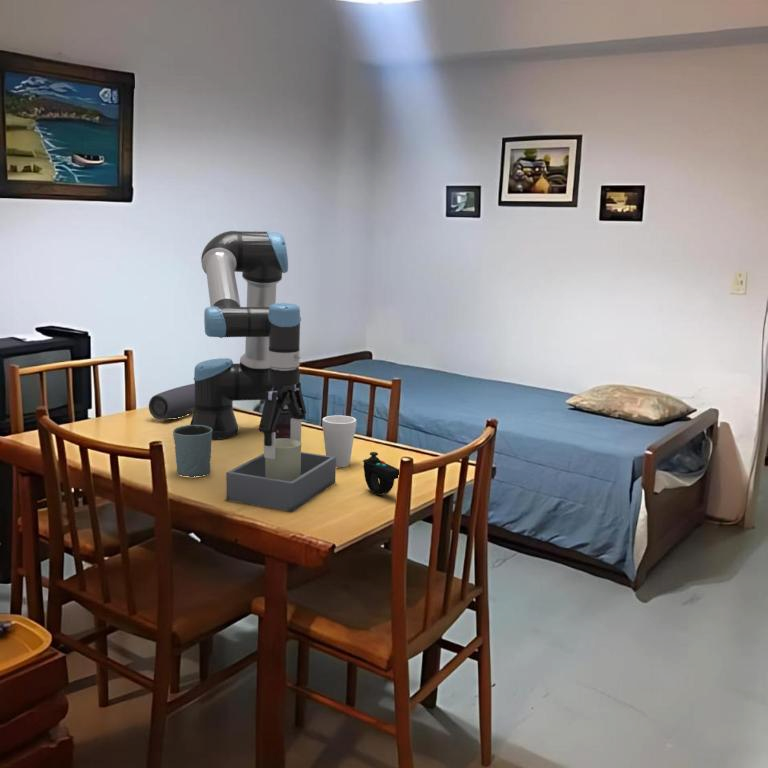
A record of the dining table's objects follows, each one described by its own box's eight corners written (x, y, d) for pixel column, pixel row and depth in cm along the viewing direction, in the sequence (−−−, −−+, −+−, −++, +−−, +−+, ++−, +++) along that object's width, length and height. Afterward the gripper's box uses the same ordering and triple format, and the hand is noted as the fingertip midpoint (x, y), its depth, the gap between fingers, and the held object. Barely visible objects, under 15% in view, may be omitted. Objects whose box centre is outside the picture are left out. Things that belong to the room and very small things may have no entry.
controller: (373, 486, 213) (374, 449, 211) (402, 499, 203) (403, 461, 201) (359, 488, 211) (360, 451, 208) (388, 503, 201) (389, 464, 199)
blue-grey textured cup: (212, 466, 224) (212, 424, 222) (213, 478, 215) (212, 434, 212) (174, 468, 222) (173, 425, 220) (173, 479, 213) (172, 435, 210)
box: (274, 472, 221) (274, 447, 220) (335, 482, 215) (335, 456, 213) (226, 500, 199) (226, 472, 198) (292, 511, 193) (292, 483, 191)
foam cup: (322, 469, 225) (323, 423, 223) (320, 459, 234) (320, 415, 232) (357, 469, 227) (358, 423, 224) (353, 459, 236) (354, 415, 233)
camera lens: (290, 460, 232) (291, 409, 229) (263, 458, 234) (263, 407, 231) (299, 453, 240) (299, 403, 237) (273, 450, 241) (273, 401, 238)
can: (285, 495, 201) (286, 448, 198) (256, 488, 205) (256, 441, 203) (308, 485, 208) (309, 440, 206) (280, 479, 213) (280, 434, 211)
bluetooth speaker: (189, 407, 290) (189, 380, 288) (211, 411, 286) (211, 383, 284) (147, 421, 270) (146, 391, 268) (170, 425, 266) (169, 395, 264)
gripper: (272, 378, 188) (271, 466, 192) (320, 360, 210) (318, 439, 215) (244, 374, 190) (243, 461, 195) (294, 357, 213) (293, 436, 218)
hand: (283, 450), depth 205 cm, fingers open, 13 cm apart
